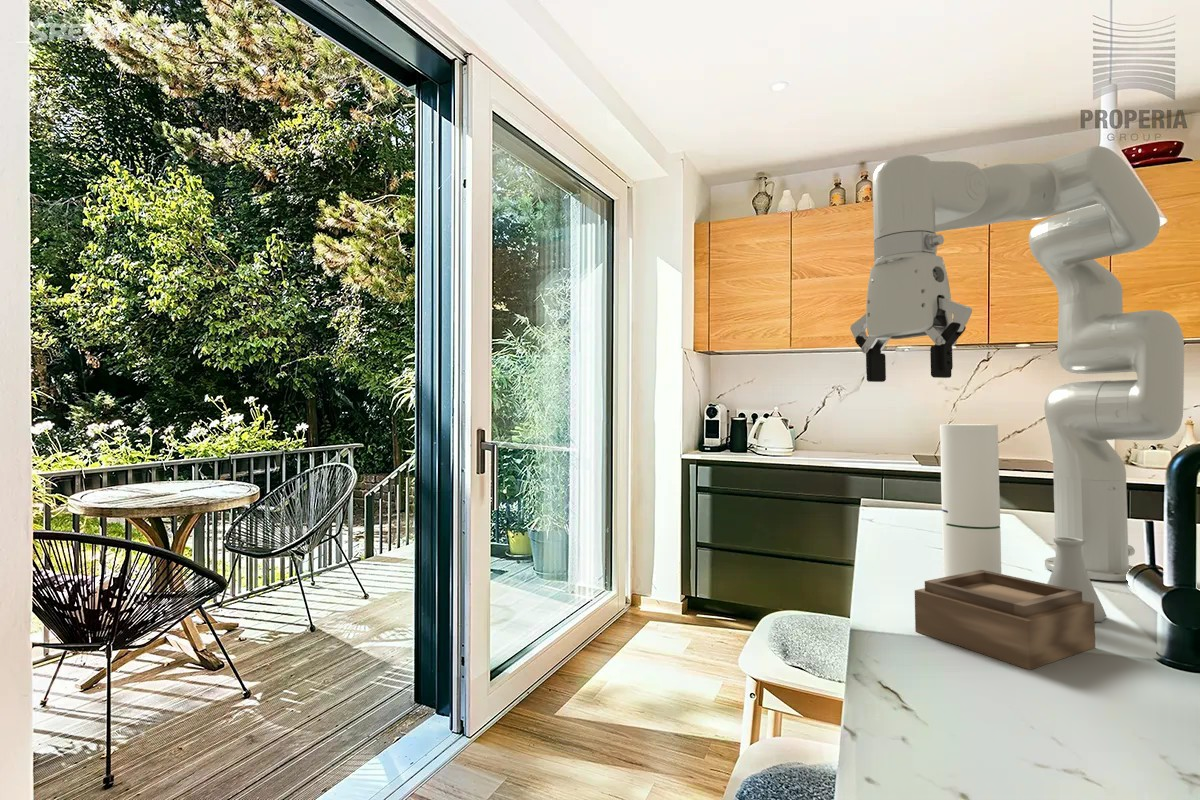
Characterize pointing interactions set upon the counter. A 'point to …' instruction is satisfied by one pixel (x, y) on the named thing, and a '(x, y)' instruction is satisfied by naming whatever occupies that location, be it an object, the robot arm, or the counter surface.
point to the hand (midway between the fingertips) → (907, 379)
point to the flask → (1074, 572)
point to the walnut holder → (1006, 617)
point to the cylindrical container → (970, 498)
